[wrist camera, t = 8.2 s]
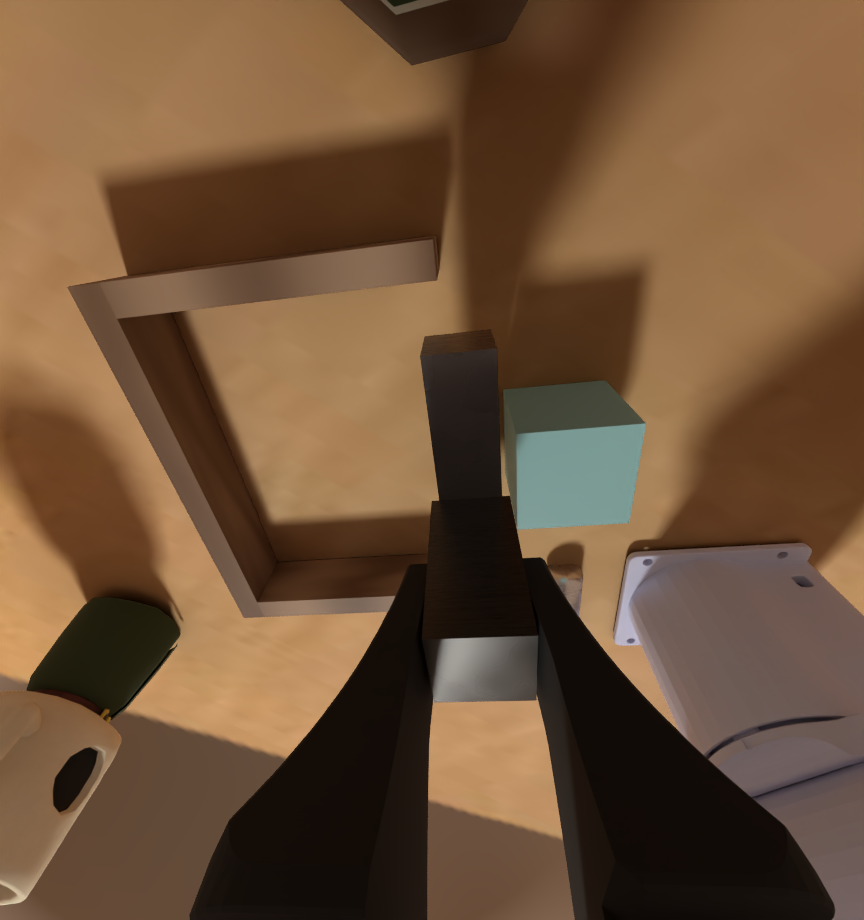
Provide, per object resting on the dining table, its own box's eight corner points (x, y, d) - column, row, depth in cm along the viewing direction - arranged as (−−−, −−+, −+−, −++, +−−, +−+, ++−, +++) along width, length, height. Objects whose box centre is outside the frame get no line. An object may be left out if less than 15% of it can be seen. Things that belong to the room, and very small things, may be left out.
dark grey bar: (498, 328, 12) (543, 439, 6) (507, 599, 18) (533, 786, 12) (416, 337, 12) (382, 452, 6) (452, 601, 19) (452, 786, 13)
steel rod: (538, 571, 24) (564, 593, 22) (564, 556, 24) (590, 577, 23) (535, 688, 30) (555, 712, 28) (556, 673, 30) (576, 696, 29)
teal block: (604, 379, 18) (645, 423, 14) (595, 465, 20) (629, 522, 17) (502, 389, 19) (516, 434, 15) (505, 471, 21) (517, 529, 17)
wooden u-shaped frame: (435, 235, 15) (432, 239, 13) (468, 566, 24) (470, 608, 22) (126, 276, 17) (67, 286, 14) (265, 577, 25) (243, 617, 23)
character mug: (180, 673, 31) (31, 924, 20) (81, 645, 30) (-137, 898, 19) (203, 587, 26) (19, 862, 15) (86, 548, 25) (-213, 819, 14)
